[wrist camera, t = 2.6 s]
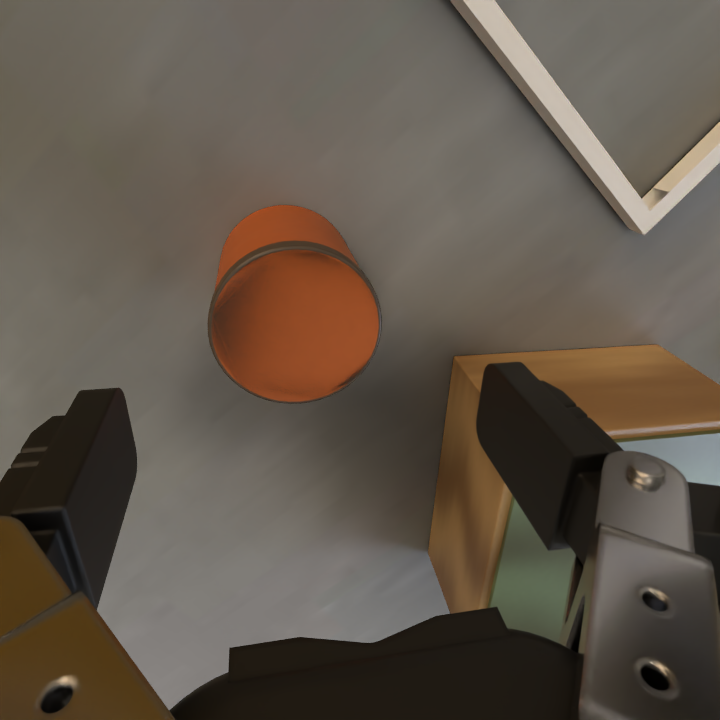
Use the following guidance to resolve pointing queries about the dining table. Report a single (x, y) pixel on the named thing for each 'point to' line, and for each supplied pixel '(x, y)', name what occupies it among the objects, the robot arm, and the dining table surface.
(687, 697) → the robot arm
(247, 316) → the orange tin
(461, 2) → the photo frame
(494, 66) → the dining table surface
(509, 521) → the riser block
